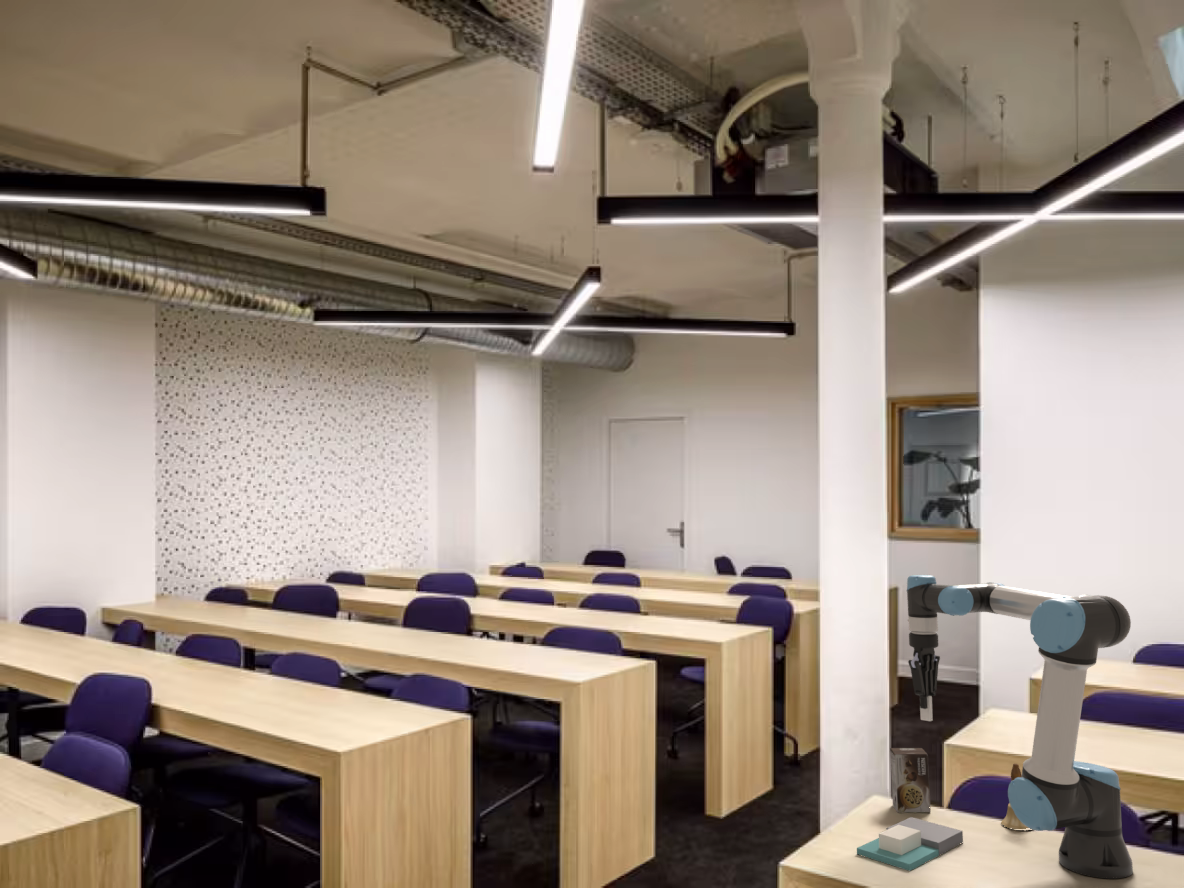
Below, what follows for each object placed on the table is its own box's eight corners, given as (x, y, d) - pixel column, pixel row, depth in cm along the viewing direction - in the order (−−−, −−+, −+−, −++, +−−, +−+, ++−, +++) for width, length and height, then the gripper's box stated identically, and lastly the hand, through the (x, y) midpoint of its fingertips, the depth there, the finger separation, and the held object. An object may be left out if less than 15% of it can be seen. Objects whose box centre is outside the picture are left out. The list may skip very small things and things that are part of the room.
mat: (938, 855, 220) (938, 849, 220) (909, 870, 211) (909, 864, 211) (886, 840, 230) (886, 834, 230) (856, 854, 222) (856, 847, 222)
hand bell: (1004, 818, 245) (1001, 758, 246) (1038, 824, 240) (1035, 762, 241) (997, 827, 238) (994, 765, 240) (1032, 834, 234) (1029, 770, 235)
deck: (963, 843, 228) (962, 830, 228) (939, 855, 220) (938, 842, 220) (911, 828, 238) (911, 817, 239) (886, 840, 230) (886, 828, 231)
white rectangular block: (921, 845, 223) (920, 830, 223) (901, 855, 217) (901, 839, 217) (898, 839, 227) (898, 824, 227) (879, 848, 221) (878, 833, 222)
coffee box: (924, 805, 256) (922, 747, 257) (931, 813, 250) (928, 753, 251) (891, 805, 257) (889, 747, 258) (897, 813, 251) (894, 753, 252)
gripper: (922, 628, 255) (925, 714, 254) (898, 633, 247) (901, 721, 245) (948, 631, 250) (951, 718, 248) (924, 636, 241) (927, 726, 240)
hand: (926, 720), depth 247 cm, fingers closed
